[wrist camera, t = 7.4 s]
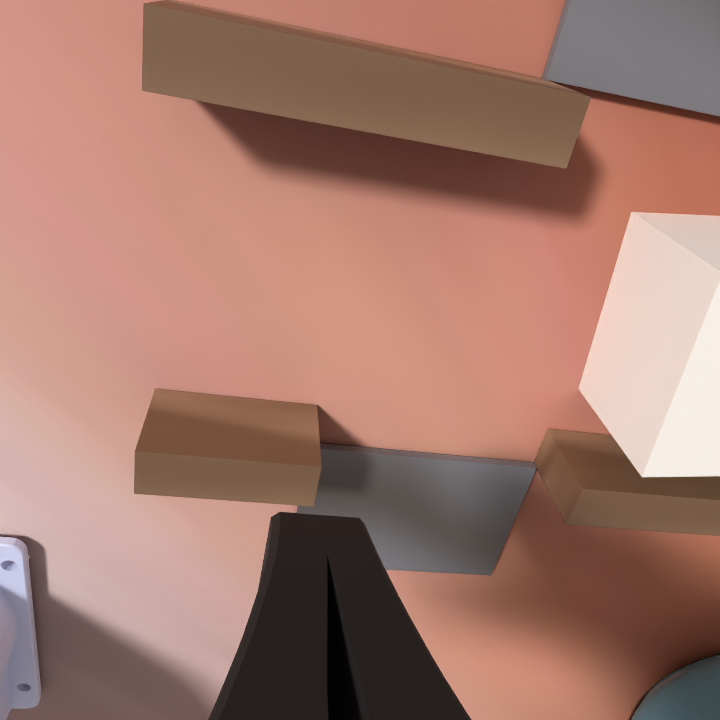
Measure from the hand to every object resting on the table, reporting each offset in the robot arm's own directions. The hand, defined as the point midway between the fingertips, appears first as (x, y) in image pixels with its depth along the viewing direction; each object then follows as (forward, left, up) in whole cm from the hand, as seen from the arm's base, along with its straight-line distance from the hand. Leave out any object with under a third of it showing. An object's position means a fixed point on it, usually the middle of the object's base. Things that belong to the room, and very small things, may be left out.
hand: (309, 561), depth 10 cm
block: (+1, -12, -10) cm, 16 cm away
